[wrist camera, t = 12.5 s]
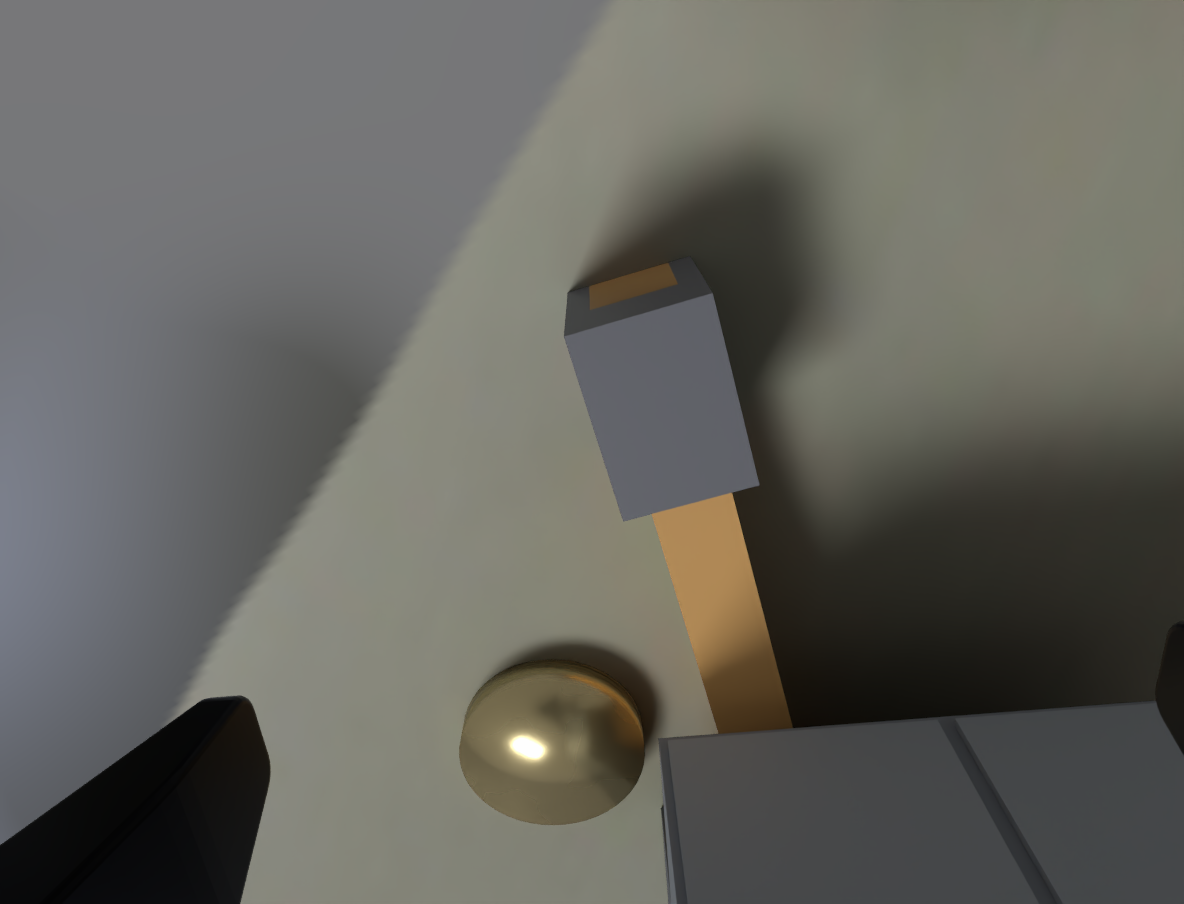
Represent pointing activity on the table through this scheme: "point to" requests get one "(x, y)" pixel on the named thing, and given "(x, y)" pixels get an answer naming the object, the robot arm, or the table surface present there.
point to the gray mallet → (681, 466)
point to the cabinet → (930, 811)
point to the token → (552, 742)
